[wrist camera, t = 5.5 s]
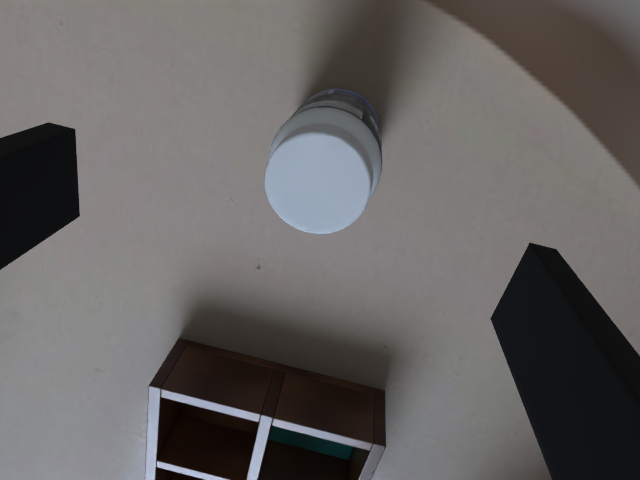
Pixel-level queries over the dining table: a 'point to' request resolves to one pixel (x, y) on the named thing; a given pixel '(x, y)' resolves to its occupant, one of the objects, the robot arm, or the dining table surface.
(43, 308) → the dining table surface
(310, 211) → the pill bottle
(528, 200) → the dining table surface
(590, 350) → the robot arm
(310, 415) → the grid
